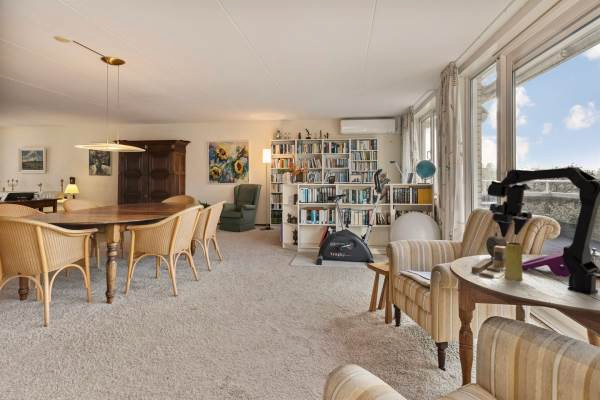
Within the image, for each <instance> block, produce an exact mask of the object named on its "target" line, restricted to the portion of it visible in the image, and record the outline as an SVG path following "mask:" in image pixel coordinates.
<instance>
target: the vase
mask: <svg viewBox="0 0 600 400" xmlns="http://www.w3.org/2000/svg"><path fill="white" fill-rule="evenodd" d="M522 263H523V244H522V243H520V242H514V241H512V242H511V241H509V242H506V266H505V270H504V275H503V276H504V278H505V279H506V278H507V280H510V279H511V280H510V281H517V280H518V281H523V270H522Z"/></svg>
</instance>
